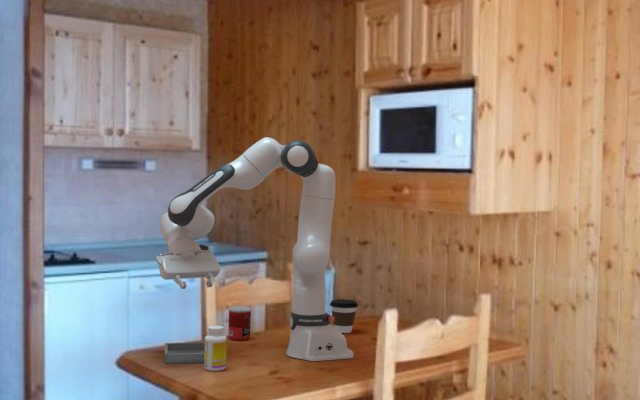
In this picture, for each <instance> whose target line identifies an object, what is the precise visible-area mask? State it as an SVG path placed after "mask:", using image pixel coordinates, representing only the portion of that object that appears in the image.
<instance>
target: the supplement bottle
mask: <svg viewBox="0 0 640 400" xmlns="http://www.w3.org/2000/svg"><path fill="white" fill-rule="evenodd" d="M224 331H225V330H224V326H221V325H211V326H208V327H207V332H208V334H207V335H205V337H204V342H205V351H204V363H203V367H204V370H206V371H211V372H220V371H223V370H225V369H226V367H227V339H228V338H227V336H226V335H225V334H224Z"/></svg>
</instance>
